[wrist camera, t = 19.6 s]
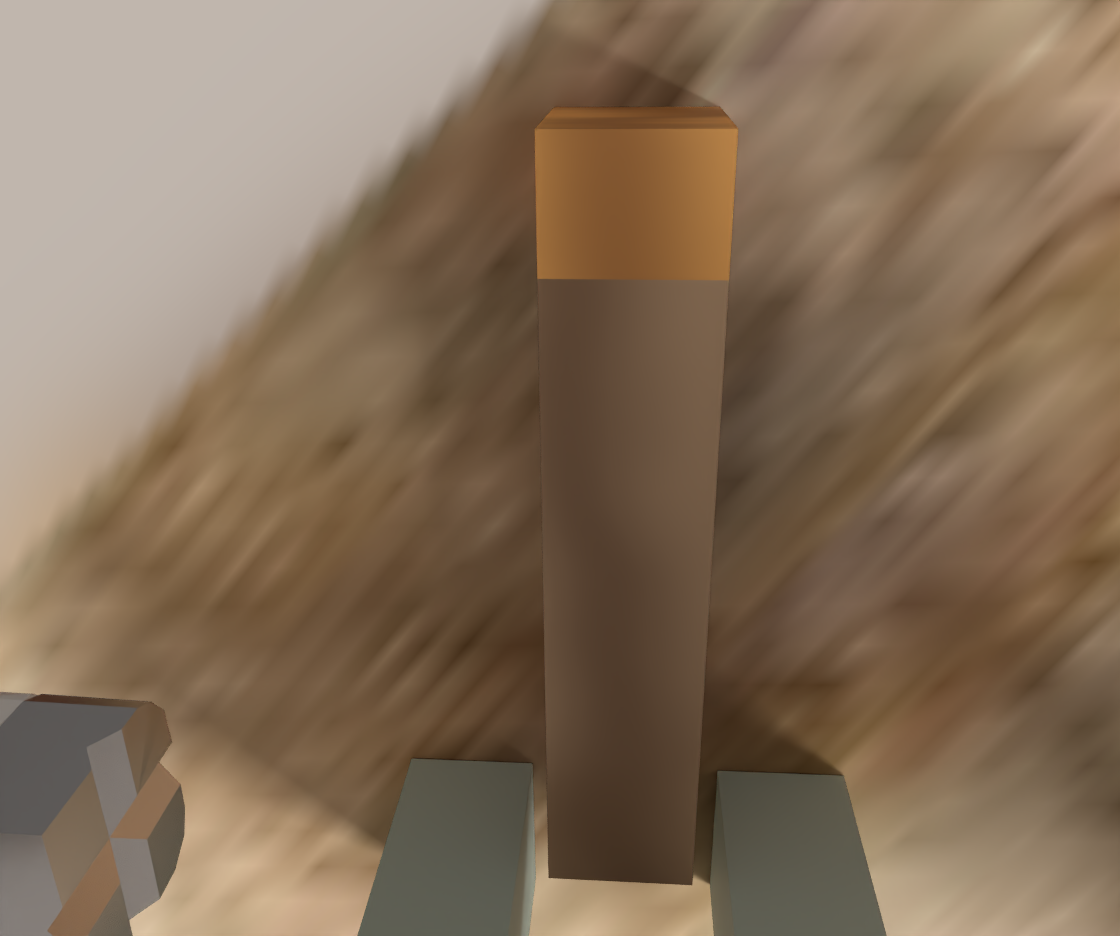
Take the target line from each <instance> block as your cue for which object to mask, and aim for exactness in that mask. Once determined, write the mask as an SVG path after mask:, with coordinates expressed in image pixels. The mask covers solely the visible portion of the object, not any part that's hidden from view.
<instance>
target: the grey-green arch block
mask: <svg viewBox="0 0 1120 936" xmlns="http://www.w3.org/2000/svg"><path fill="white" fill-rule="evenodd" d="M535 880H536V867H535V833H534V799H533V765H532V763H512V762H486V761H461V760H436V759H411V762H410V765H409V769H408V772H407V775H406V779H405V782H404V785H403V788H402V792H401V795H400V798H399V801H398V805H397V808H396V811H395V815H394V818H393V821H392V824H391V828H390V831H389V834H388V837H387V841H386V844H385V847H384V851H383V854H382V857H381V860H380V864H379V867H378V870H377V873H376V877H375V880H374V883H373V887H372V890H371V893H370V896H369V900H368V903H367V906H366V909H365V913H364V916H363V919H362V923H361V926H360V929H359V932H358V936H529V929H530V921H531V913H532V905H533V896H534V888H535ZM710 892H711V905H712V917H713V929H714V936H886V932H885V928H884V924H883V921H882V917H881V913H880V909H879V906H878V902H877V898H876V894H875V891H874V887H873V883H872V879H871V876H870V872H869V868H868V864H867V861H866V857H865V853H864V849H863V846H862V842H861V838H860V834H859V831H858V827H857V823H856V819H855V816H854V812H853V808H852V804H851V801H850V797H849V793H848V789H847V786H846V782H845V778H844V776H838V775H813V774H788V773H763V772H738V771H718V773H717V788H716V803H715V818H714V833H713V847H712V862H711V877H710Z"/></svg>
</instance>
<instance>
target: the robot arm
mask: <svg viewBox="0 0 1120 936" xmlns="http://www.w3.org/2000/svg"><path fill="white" fill-rule="evenodd" d="M171 743H172V740H171V736H170V732H169V728H168V724H167V720H166V716H165V712H164V710H163V709H162V708H160V707H159V706H157V705H156V704H154V703H152V702H148V701H134V700H120V699H106V698H92V697H77V696H63V695H49V694H40V695H34V694H25V693H8V692H0V936H133V935H132V931H131V927H130V923H129V920H130V919H131V918H133V917H134V916H135V915H137V914H138V913H140V912H141V911H143V910H144V909H146V908H147V907H148V906H150V905H151V904H153V903H154V902H156V901H157V900H159V899H160V897H161V896H162V894H163V892H164V890H165V888H166V886H167V884H168V882H169V880H170V878H171V877H172V875H173V873H174V871H175V868H176V864H177V861H178V857H179V853H180V849H181V845H182V841H183V838H184V823H185V805H184V800H183V795H182V789H181V784H180V783H179V782H178V781H177V780H176V779H175V778H174V777H173V776H172V775H171V774H170V773H169V772H168V771H167V770H166V769H165V768H164V767H163V766H162V765H161V764H160V763H159V761H160V760H161V758H162V757H163V755H164V754H165V752H166V750H167V749H168V747H169V746H170V744H171Z"/></svg>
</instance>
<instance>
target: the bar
mask: <svg viewBox="0 0 1120 936" xmlns="http://www.w3.org/2000/svg"><path fill="white" fill-rule="evenodd" d="M534 130H535V183H536V236H537V289H538V342H539V394H540V447H541V500H542V553H543V606H544V659H545V711H546V764H547V817H548V870H549V878H560V879H580V880H600V881H620V882H640V883H660V884H680V885H692V880H693V864H694V848H695V831H696V815H697V798H698V782H699V766H700V749H701V733H702V716H703V700H704V684H705V667H706V651H707V634H708V618H709V602H710V585H711V569H712V552H713V536H714V519H715V503H716V487H717V470H718V454H719V437H720V421H721V405H722V388H723V372H724V355H725V339H726V323H727V306H728V290H729V273H730V257H731V241H732V224H733V208H734V191H735V175H736V159H737V142H738V128H737V127H736V125H735V124H734V123H733V122H732V121H731V119H730V118H729V117H728V116H727V115H726V113H725V112H724V111H723V110H722V109H721V107H554V108H553V109H552V110H551V111H550V112H549V113H548V115H547V116H546V117H545V118H544V119H543V120H542V121H541V122H540V124H539V125H538V126H537V127H536V128H535V129H534Z"/></svg>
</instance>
